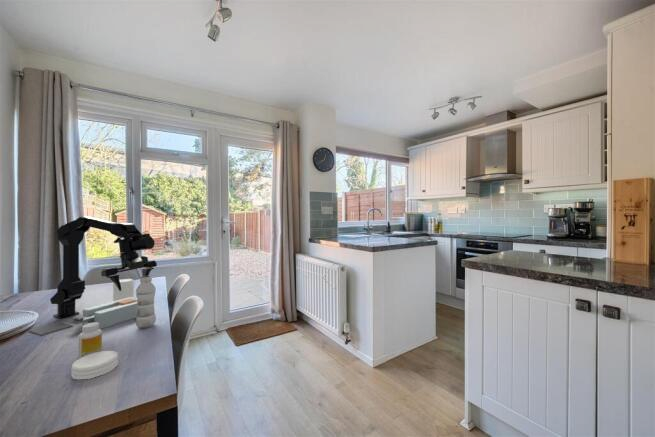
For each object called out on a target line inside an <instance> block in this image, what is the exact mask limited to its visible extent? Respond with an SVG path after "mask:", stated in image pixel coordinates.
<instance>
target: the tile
mask: <svg viewBox="0 0 655 437" xmlns="http://www.w3.org/2000/svg"><path fill="white" fill-rule="evenodd" d="M133 302H136V300H133V299H126V300H122V301H118V302H117V306H119V305H126V304H130V303H133Z"/></svg>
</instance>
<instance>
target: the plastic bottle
mask: <svg viewBox="0 0 655 437" xmlns="http://www.w3.org/2000/svg"><path fill="white" fill-rule="evenodd" d="M152 281H153V278H152V275H148V276H140V280H139V282H140V284H139V285H138V286H137V288H136V289H135V296H136V298H137V304H138V310H137V317H135V326H136V327H137V328H138V329H146V328H150V327H153V326H154V325H155V324H156V321H157V320H156V319H157V317H156V313H155V296H156V286H155V285H154V284H153V282H152Z"/></svg>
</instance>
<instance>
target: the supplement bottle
mask: <svg viewBox="0 0 655 437" xmlns="http://www.w3.org/2000/svg"><path fill="white" fill-rule="evenodd" d="M98 328H99V323H98V322H93V323H88V324H85V325H84V324H82V326H81V331H82V332H80V333H79V335H78V359H80V358H82V357H84V356H86V355H89V354H92V353H96V352H100V351H103V350H102V348H103V347H102V340H103V337H102V335H103V331H102V329H98Z"/></svg>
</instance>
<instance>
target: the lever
mask: <svg viewBox="0 0 655 437" xmlns="http://www.w3.org/2000/svg"><path fill="white" fill-rule="evenodd" d="M91 320H94V314H93V315H89V316H86V317H83V316H82V317H77V318H74V319H72V320H70V324H71V325H80V324H82V323H84V322H87V321H91Z"/></svg>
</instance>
